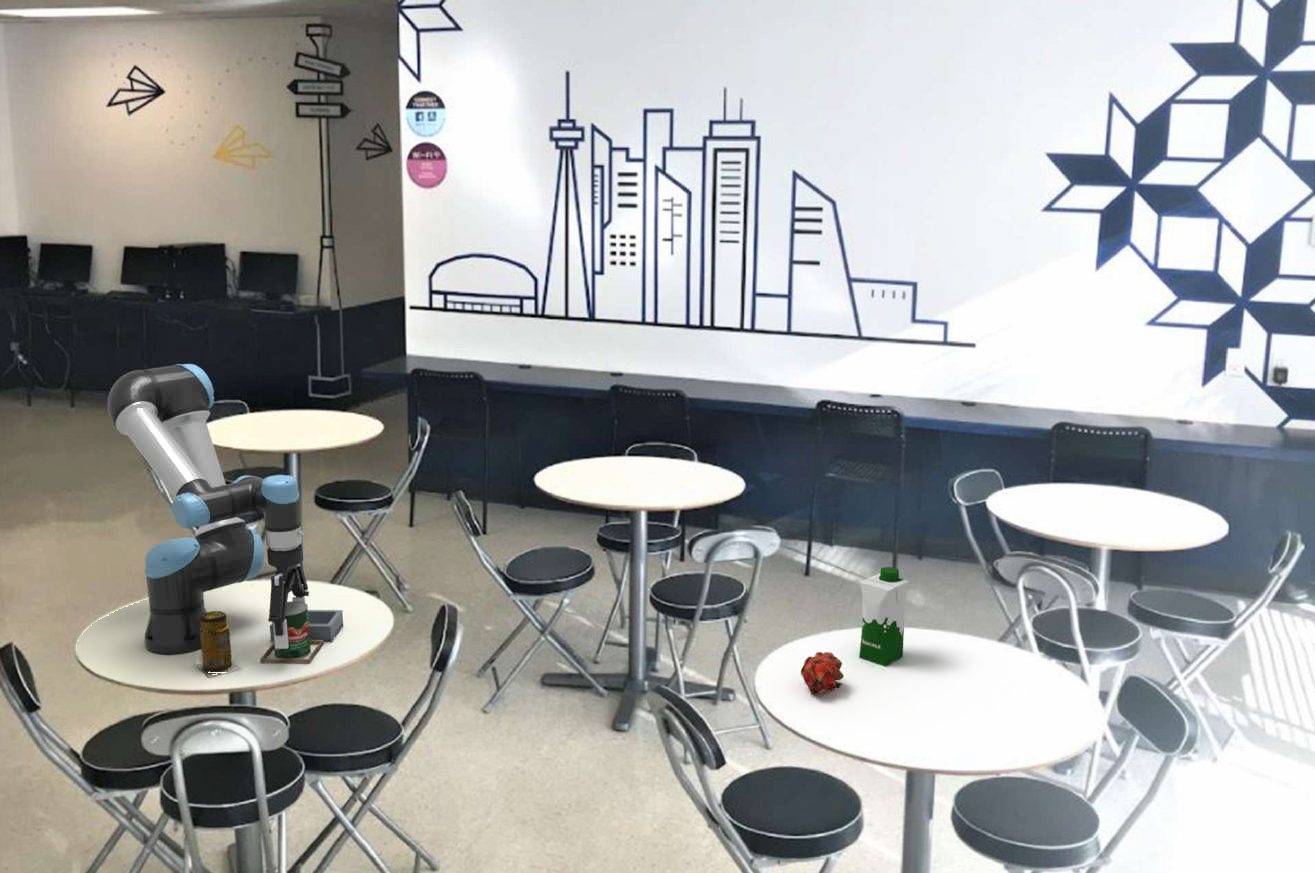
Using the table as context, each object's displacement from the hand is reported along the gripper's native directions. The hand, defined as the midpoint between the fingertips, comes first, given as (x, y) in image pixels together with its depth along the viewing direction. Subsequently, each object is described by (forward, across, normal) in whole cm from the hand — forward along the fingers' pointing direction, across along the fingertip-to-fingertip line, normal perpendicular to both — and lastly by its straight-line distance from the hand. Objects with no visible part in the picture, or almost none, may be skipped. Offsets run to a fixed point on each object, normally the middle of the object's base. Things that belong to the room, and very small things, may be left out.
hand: (291, 635), depth 275 cm
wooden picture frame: (+4, 0, 0) cm, 4 cm away
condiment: (+4, -8, +14) cm, 17 cm away
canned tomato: (+4, 0, 0) cm, 4 cm away
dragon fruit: (+4, -17, -117) cm, 118 cm away
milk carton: (+4, 0, -132) cm, 132 cm away
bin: (+4, +11, 0) cm, 12 cm away
